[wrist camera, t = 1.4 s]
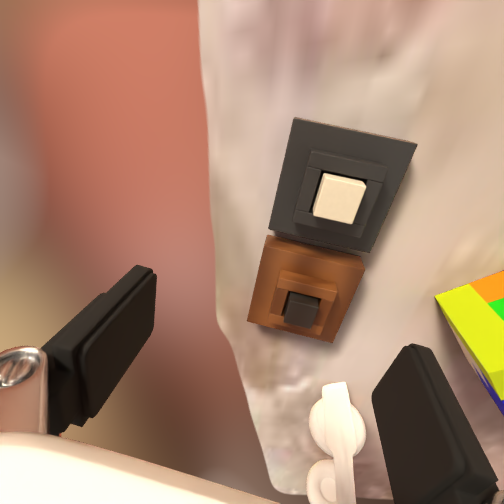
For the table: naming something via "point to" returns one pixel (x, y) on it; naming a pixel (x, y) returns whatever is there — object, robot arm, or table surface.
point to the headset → (335, 446)
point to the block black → (345, 165)
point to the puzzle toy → (480, 328)
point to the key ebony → (300, 310)
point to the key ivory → (338, 198)
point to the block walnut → (304, 285)
